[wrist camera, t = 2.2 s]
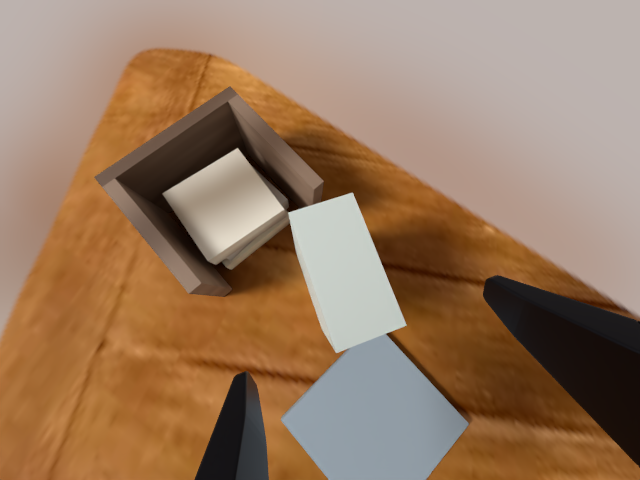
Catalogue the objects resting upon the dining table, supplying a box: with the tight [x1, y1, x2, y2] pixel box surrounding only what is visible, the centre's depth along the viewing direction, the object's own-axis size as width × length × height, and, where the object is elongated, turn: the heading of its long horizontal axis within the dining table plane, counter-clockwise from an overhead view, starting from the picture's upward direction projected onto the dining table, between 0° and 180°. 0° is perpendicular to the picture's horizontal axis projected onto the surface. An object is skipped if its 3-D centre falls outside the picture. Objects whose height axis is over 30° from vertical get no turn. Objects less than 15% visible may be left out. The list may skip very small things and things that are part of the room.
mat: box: [281, 334, 469, 480], centre depth 18 cm, size 9×9×1 cm
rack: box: [94, 87, 324, 297], centre depth 18 cm, size 9×10×6 cm
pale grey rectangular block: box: [288, 192, 407, 353], centre depth 15 cm, size 6×3×10 cm, turn 19°
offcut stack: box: [162, 148, 290, 270], centre depth 19 cm, size 6×6×4 cm
